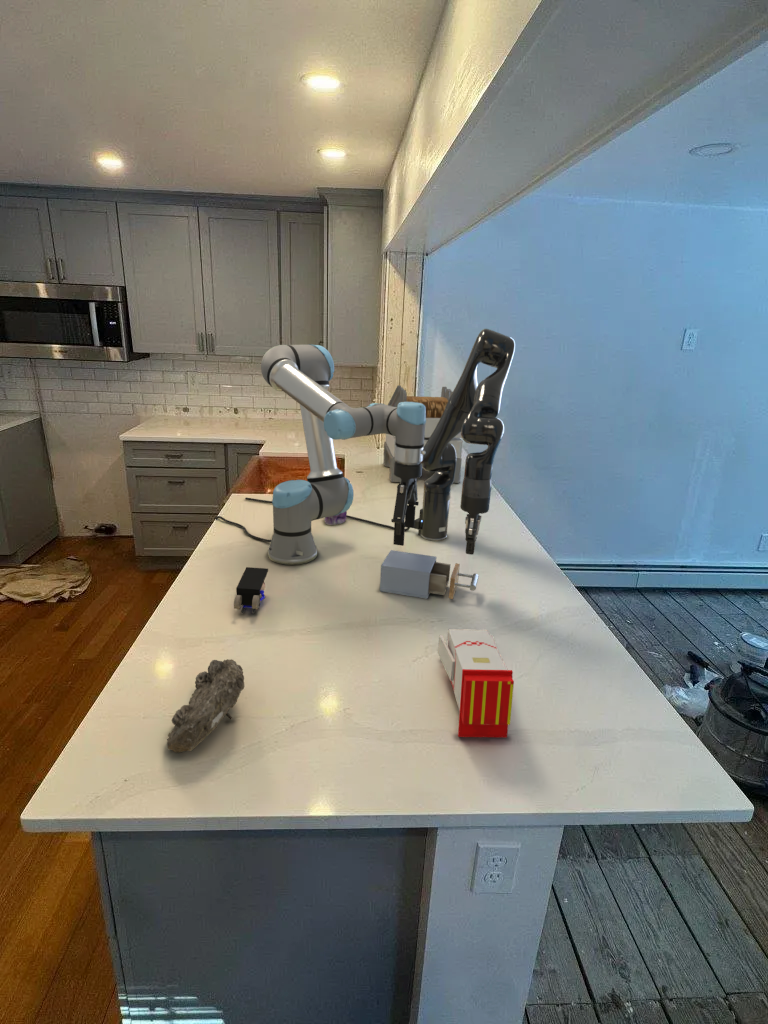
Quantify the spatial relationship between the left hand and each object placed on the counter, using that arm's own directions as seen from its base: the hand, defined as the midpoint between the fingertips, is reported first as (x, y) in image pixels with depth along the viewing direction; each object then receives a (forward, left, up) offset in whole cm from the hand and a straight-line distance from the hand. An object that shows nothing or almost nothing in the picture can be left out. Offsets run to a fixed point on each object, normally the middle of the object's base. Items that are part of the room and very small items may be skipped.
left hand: (404, 535), depth 158 cm
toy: (+33, -36, -15) cm, 51 cm away
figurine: (-43, +33, -15) cm, 56 cm away
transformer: (-43, +112, -15) cm, 120 cm away
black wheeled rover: (-29, -31, -15) cm, 45 cm away
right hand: (+18, +4, -2) cm, 19 cm away
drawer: (+12, +3, -15) cm, 19 cm away
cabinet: (+2, 0, -15) cm, 16 cm away
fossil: (-7, -69, -15) cm, 71 cm away
